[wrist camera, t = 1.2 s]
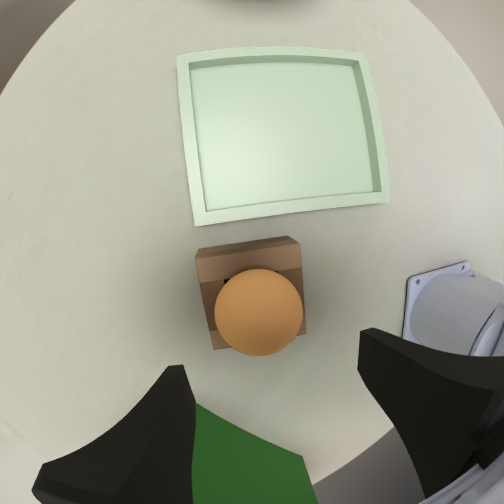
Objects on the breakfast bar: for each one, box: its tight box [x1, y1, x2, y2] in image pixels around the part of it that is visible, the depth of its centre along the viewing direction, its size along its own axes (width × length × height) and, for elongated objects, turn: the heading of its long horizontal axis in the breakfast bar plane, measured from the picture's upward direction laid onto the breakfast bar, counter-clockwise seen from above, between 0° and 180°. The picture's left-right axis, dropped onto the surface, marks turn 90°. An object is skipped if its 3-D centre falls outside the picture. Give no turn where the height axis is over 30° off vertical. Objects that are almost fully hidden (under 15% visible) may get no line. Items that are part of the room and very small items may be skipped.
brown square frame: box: [195, 236, 306, 350], centre depth 19 cm, size 6×6×3 cm
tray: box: [176, 46, 391, 227], centre depth 17 cm, size 14×12×2 cm
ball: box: [214, 269, 303, 356], centre depth 15 cm, size 5×5×5 cm
